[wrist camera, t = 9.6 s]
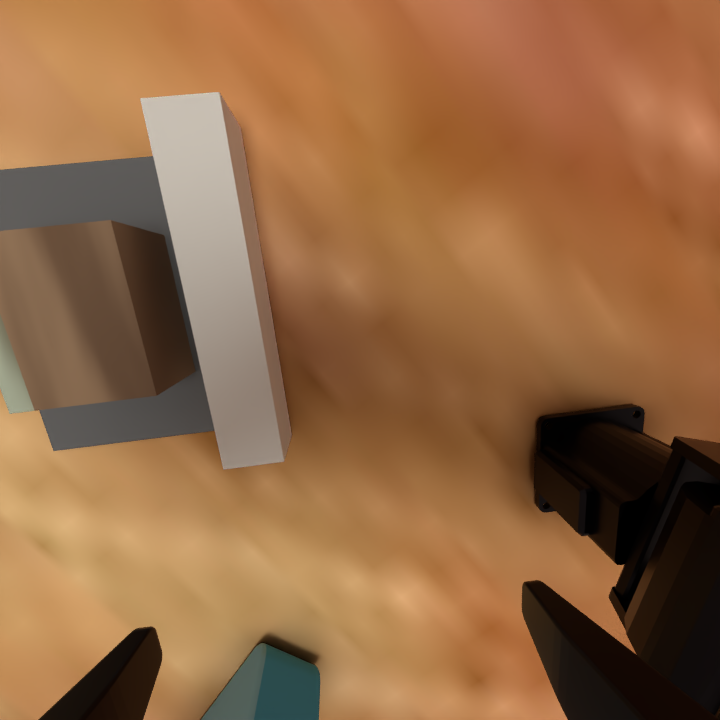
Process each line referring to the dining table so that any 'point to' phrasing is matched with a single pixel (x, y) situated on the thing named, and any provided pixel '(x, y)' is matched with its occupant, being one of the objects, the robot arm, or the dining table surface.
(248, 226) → the rail
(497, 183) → the dining table surface
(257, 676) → the data package
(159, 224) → the mat
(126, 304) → the block
